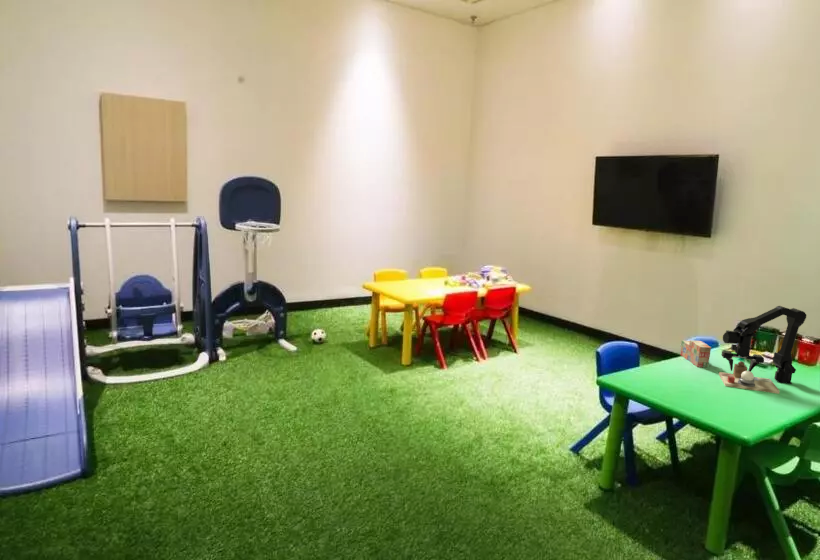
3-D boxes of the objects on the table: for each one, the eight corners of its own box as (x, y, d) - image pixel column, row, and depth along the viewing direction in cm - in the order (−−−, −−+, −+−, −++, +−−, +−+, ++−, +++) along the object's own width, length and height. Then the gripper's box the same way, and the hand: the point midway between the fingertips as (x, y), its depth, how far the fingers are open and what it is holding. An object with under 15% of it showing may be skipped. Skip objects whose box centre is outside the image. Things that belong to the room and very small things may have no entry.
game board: (769, 381, 287) (770, 373, 286) (779, 394, 270) (780, 385, 269) (718, 374, 295) (719, 366, 294) (725, 386, 278) (726, 378, 277)
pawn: (743, 375, 290) (746, 360, 288) (745, 378, 285) (748, 363, 284) (733, 374, 292) (735, 359, 290) (735, 377, 287) (737, 362, 285)
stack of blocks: (679, 355, 327) (682, 335, 325) (690, 355, 327) (692, 335, 325) (697, 367, 306) (700, 346, 304) (708, 367, 306) (711, 347, 304)
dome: (752, 380, 280) (754, 370, 279) (755, 384, 274) (757, 374, 273) (737, 378, 282) (739, 368, 281) (740, 382, 276) (742, 372, 275)
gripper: (760, 342, 290) (756, 369, 292) (721, 337, 296) (717, 364, 299) (766, 348, 279) (761, 376, 282) (725, 343, 285) (721, 371, 288)
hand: (740, 371), depth 288 cm, fingers open, 8 cm apart
